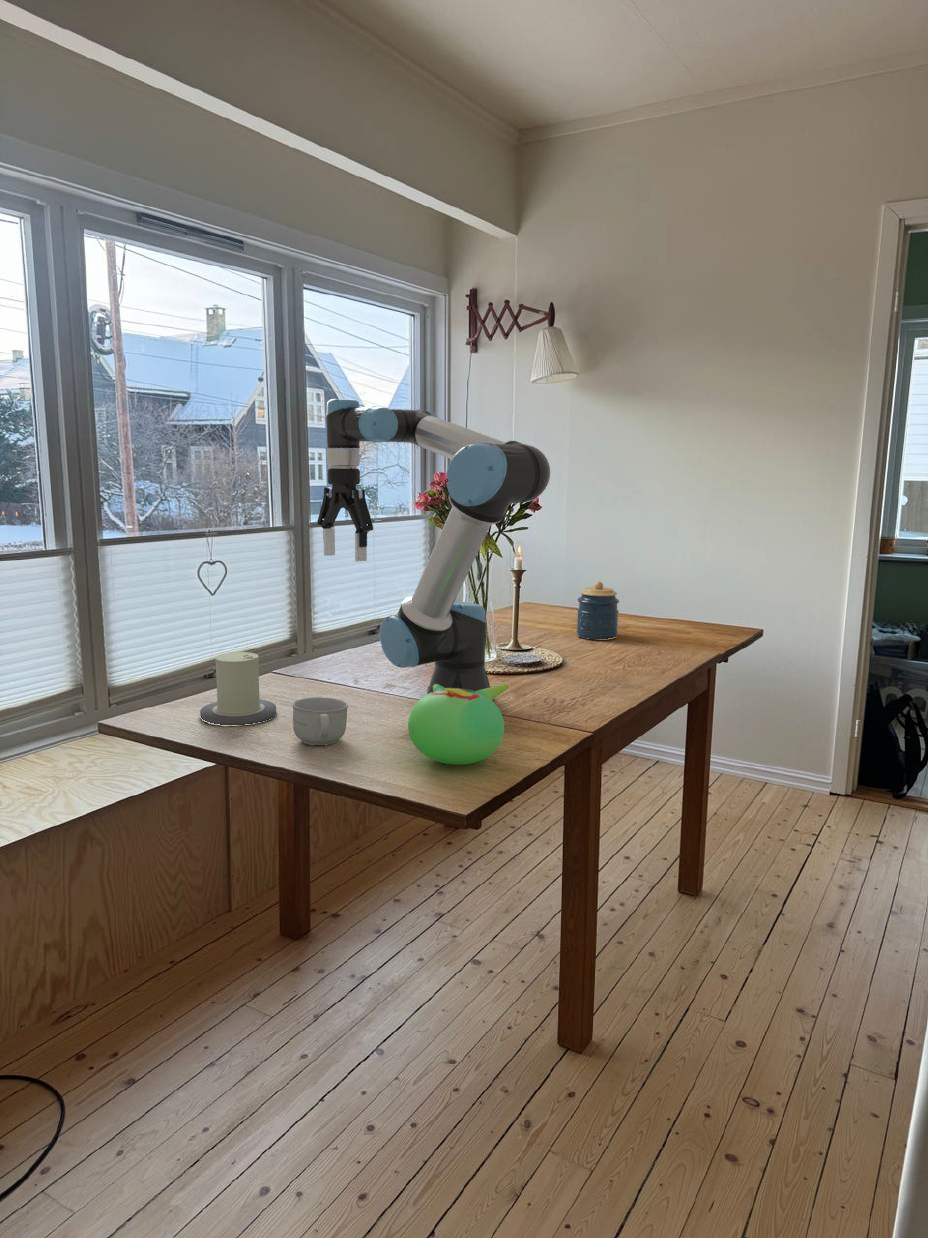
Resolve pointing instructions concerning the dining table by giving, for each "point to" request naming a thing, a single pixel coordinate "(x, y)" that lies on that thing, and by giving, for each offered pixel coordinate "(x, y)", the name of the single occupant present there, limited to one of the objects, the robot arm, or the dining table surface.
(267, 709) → the pad
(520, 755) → the dining table surface
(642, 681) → the dining table surface
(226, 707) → the can
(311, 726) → the teacup
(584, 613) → the canister
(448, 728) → the green round lump
